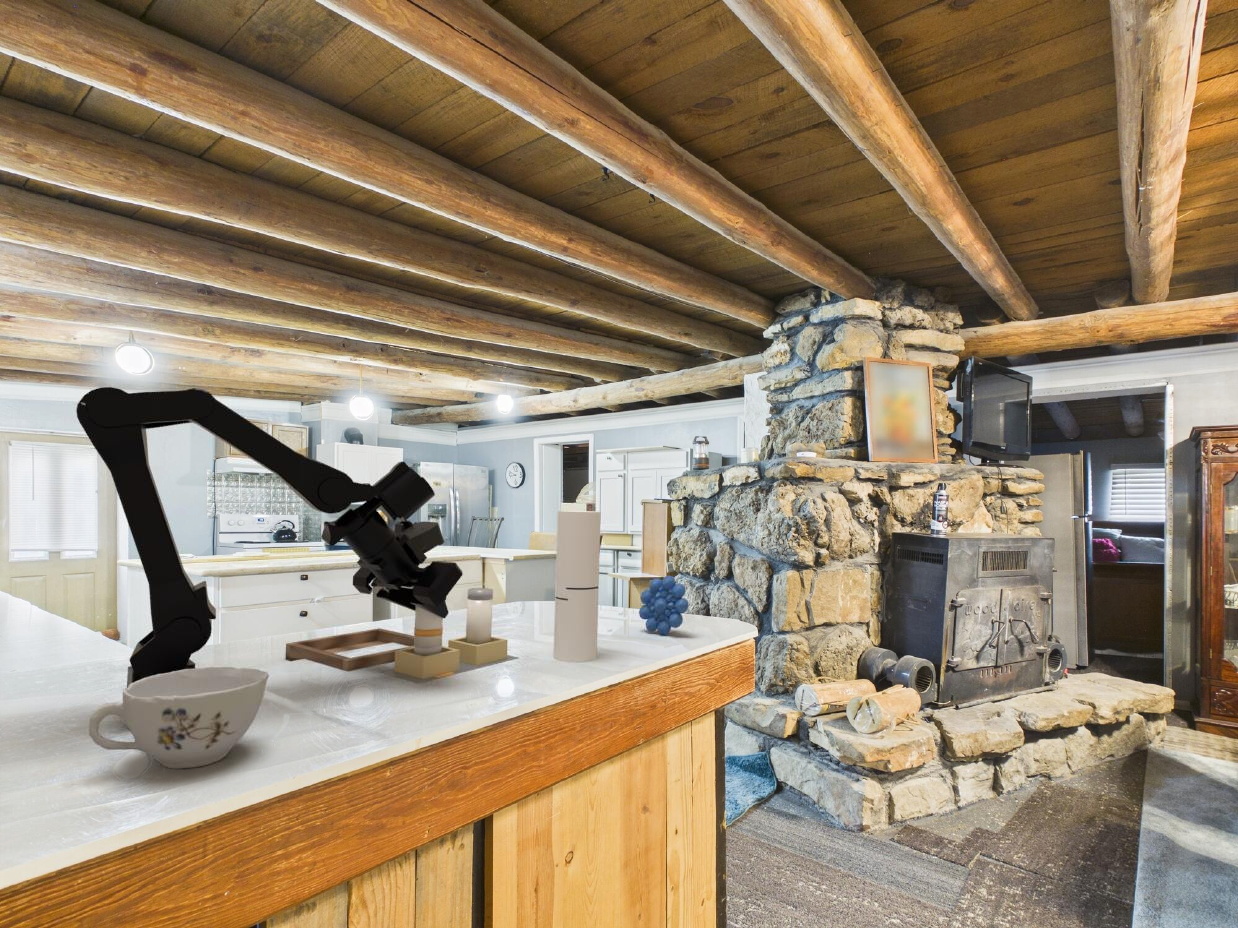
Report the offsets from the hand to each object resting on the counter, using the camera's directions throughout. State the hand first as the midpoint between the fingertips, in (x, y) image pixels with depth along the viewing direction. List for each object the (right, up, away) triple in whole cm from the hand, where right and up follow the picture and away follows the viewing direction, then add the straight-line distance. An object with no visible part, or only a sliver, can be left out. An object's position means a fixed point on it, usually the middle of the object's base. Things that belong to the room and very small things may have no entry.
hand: (436, 613), depth 103 cm
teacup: (-16, -7, -35) cm, 39 cm away
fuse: (+5, -9, +7) cm, 12 cm away
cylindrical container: (+20, -10, +9) cm, 25 cm away
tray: (-14, -9, +9) cm, 19 cm away
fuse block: (+2, -9, +2) cm, 10 cm away
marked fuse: (-1, -6, -1) cm, 6 cm away
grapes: (+37, -12, +35) cm, 53 cm away
